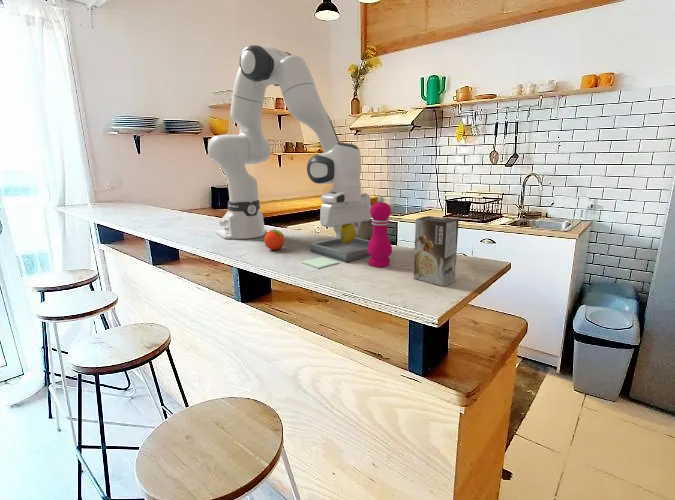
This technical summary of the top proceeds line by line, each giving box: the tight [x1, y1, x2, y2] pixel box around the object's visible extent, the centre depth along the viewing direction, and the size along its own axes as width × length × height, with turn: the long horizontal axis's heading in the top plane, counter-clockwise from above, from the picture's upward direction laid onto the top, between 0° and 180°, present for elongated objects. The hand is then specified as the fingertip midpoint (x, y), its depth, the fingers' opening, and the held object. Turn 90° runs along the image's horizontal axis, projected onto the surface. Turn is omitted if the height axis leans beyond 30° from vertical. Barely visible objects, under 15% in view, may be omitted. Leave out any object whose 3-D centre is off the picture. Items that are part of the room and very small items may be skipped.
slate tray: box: [309, 236, 371, 263], centre depth 125 cm, size 18×18×3 cm
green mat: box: [301, 256, 340, 269], centre depth 113 cm, size 8×8×1 cm
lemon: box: [340, 223, 356, 245], centre depth 124 cm, size 6×6×8 cm
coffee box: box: [413, 215, 460, 287], centre depth 96 cm, size 9×6×16 cm
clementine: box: [263, 229, 286, 251], centre depth 128 cm, size 8×7×7 cm
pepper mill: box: [367, 196, 393, 268], centre depth 109 cm, size 7×7×20 cm
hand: (347, 237), depth 125 cm, fingers closed on lemon, 5 cm apart
